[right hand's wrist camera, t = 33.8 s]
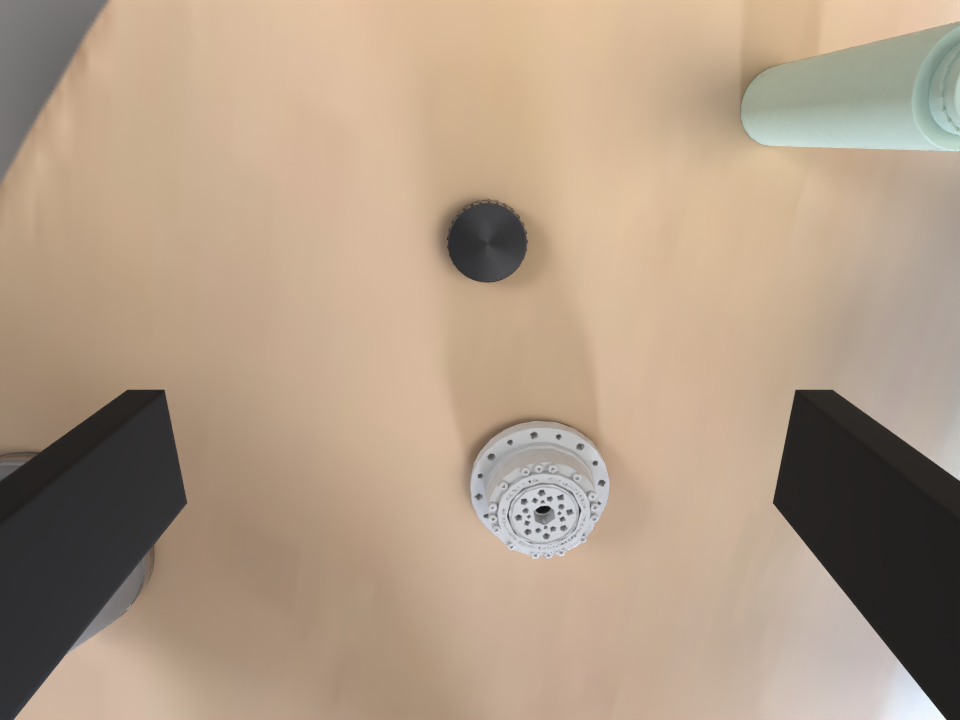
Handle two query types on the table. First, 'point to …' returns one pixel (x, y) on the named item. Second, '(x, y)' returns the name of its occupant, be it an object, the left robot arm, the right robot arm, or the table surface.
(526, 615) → the table surface
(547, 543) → the mechanical component
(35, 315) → the table surface
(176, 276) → the table surface
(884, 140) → the jar
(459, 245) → the lid
